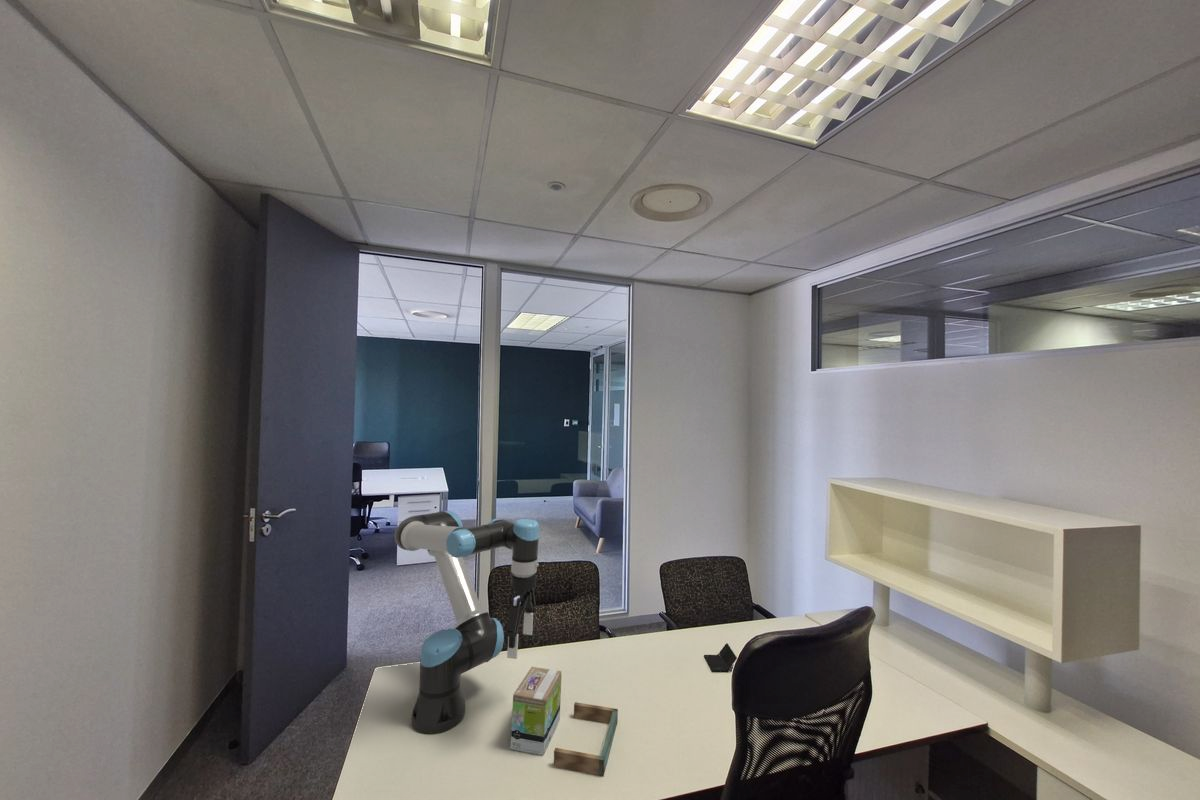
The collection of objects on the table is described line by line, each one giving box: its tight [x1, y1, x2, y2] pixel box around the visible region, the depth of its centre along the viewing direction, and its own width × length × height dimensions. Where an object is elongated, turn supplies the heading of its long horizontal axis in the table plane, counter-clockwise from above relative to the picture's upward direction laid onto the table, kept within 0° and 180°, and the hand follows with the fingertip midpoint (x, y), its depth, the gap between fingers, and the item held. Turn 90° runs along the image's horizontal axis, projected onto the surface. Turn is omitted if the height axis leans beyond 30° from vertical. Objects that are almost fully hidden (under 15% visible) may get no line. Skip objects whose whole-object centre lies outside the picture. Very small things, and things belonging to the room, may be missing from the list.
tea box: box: [509, 666, 562, 756], centre depth 127 cm, size 15×10×15 cm
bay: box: [553, 701, 619, 777], centre depth 123 cm, size 13×21×4 cm, turn 168°
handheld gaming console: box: [703, 642, 738, 674], centre depth 165 cm, size 12×7×10 cm
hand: (520, 645), depth 131 cm, fingers open, 13 cm apart
